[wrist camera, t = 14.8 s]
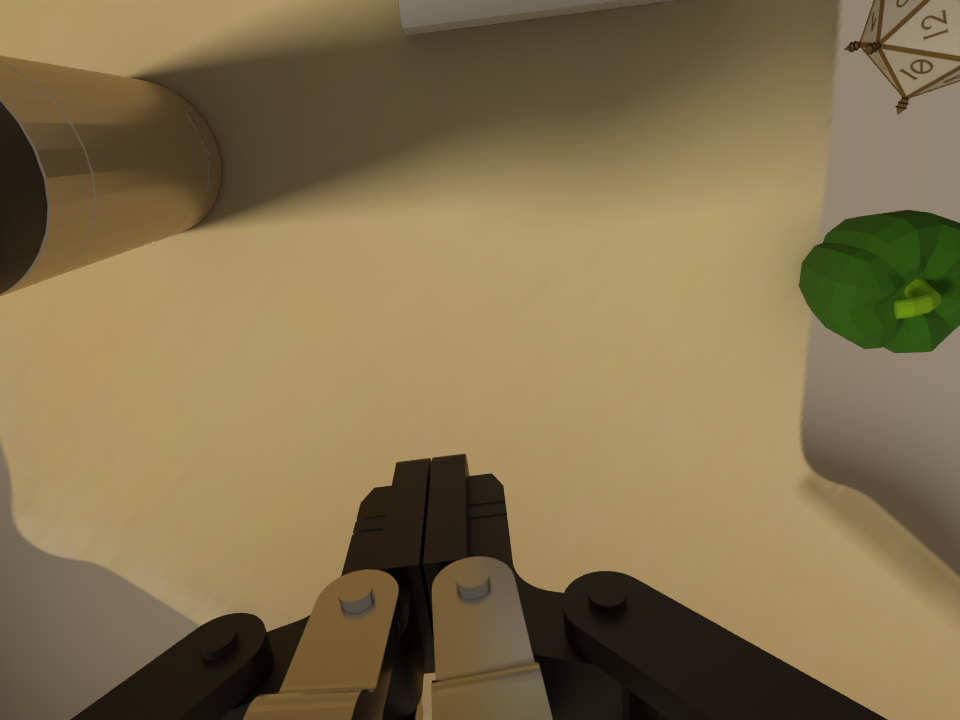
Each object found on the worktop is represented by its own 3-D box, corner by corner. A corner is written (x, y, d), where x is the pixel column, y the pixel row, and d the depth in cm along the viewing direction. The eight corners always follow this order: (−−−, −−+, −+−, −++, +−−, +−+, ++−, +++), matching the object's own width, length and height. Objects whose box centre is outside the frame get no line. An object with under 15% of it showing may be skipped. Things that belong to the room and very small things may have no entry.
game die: (882, 13, 40) (1099, -65, 32) (868, 142, 40) (1082, 97, 32) (816, -58, 35) (1055, -172, 26) (799, 91, 34) (1035, 22, 26)
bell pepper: (922, 211, 41) (1062, 235, 31) (876, 329, 43) (991, 383, 34) (803, 191, 40) (908, 209, 31) (763, 312, 43) (849, 362, 33)
